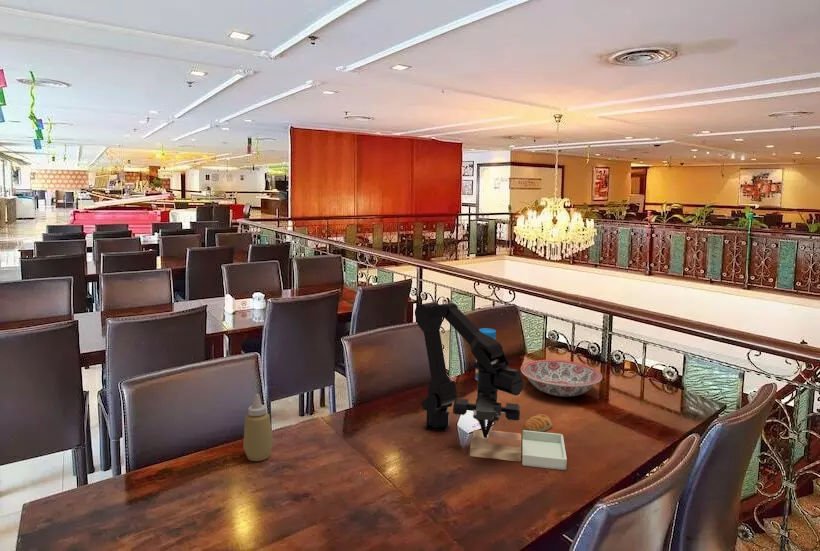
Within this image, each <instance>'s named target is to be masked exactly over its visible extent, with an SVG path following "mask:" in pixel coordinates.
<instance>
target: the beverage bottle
mask: <svg viewBox="0 0 820 551" xmlns="http://www.w3.org/2000/svg"><path fill="white" fill-rule="evenodd" d="M478 330H479V331H480V332H482V333H483V334H485V335H487V336H490V337H492V338H493V339H495V340H496V337H497V330H496V329H494V328H487V327H485V328H478ZM476 362H477V360H476V359H475V363H476ZM495 363H497V361H495V362H492V363H491V364H495ZM474 379H475V380H476V381H478V369H477V368H475V376H474Z"/></svg>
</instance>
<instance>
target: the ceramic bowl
mask: <svg viewBox="0 0 820 551" xmlns="http://www.w3.org/2000/svg"><path fill="white" fill-rule="evenodd" d="M520 372H521V373H522V374H523V376H525V377H526V378H527V379H528V381H529V382H530V383H531V385H532V386H533V387H534V388H536V389H537V390H538V391H540V392H543V393H545V394H548V395H552V396H555V397H576V396H580V395H583V394H584V393H586V392H589V391H590V390H591V389H592V388H593V387H594V386H595V385H596V384H599V383H600V382H601V381H602V380H603V375H602V373H601V372H600V371H599V370H597V369H596V368H594V367H592V366H589V365H586V364H584V363H580V362H576V361H570V360H563V359H537V360H532V361H529V362H525V363H524V364H522V366H521V367H520Z"/></svg>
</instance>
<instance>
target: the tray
mask: <svg viewBox="0 0 820 551" xmlns="http://www.w3.org/2000/svg"><path fill="white" fill-rule="evenodd" d="M564 440H565V438H564V434H563V433H555V432H554V433H553V432H546V431H543V432H536V431H526V430H524V429H522V452H521V457H522V458H521V460H522V462H521V464H522V466H525V467H534V468H540V469H541V468H542V469H549V470H550V469H552V470H559V471H560V470H562V471H567V463H568V459H567V453H566V446H565V441H564Z"/></svg>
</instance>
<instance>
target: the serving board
mask: <svg viewBox="0 0 820 551" xmlns="http://www.w3.org/2000/svg"><path fill="white" fill-rule="evenodd" d="M488 435H489V433H488ZM488 435H487V438H484V436H483V432H482V429H481V430H480V429H473V431H472V437H471V441H470V442H471V443H470V446H469V447H470V448H469V456H470V457H476V458H485V459H492V460H502V461H503V460H504V461H510V462H511V461H512V462H519V463H520V462H521V460H522V458H521V457H522V441H521V442H520V447H516V446H506V445H499V444H489V443H488ZM504 436H505V435H504ZM520 436H521V437H522V434H521V433H520ZM521 463H522V462H521Z"/></svg>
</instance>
